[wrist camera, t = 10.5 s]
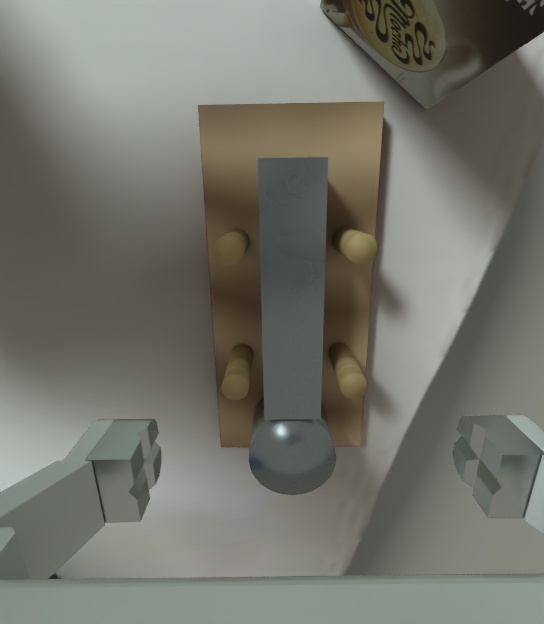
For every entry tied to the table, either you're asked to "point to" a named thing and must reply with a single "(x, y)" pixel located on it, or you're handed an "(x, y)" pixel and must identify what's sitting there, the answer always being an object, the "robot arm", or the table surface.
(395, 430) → the table surface
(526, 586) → the robot arm
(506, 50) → the coffee box
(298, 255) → the grey bar
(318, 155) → the peg board
